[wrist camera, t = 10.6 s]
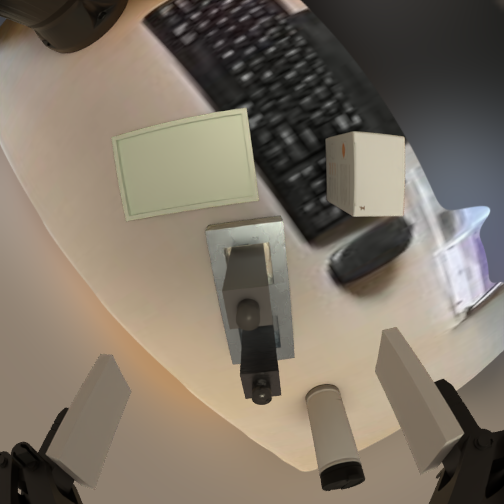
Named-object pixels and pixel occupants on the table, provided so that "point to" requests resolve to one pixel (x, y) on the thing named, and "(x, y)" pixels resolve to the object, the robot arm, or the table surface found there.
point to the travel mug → (333, 439)
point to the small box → (366, 173)
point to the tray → (186, 165)
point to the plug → (247, 288)
